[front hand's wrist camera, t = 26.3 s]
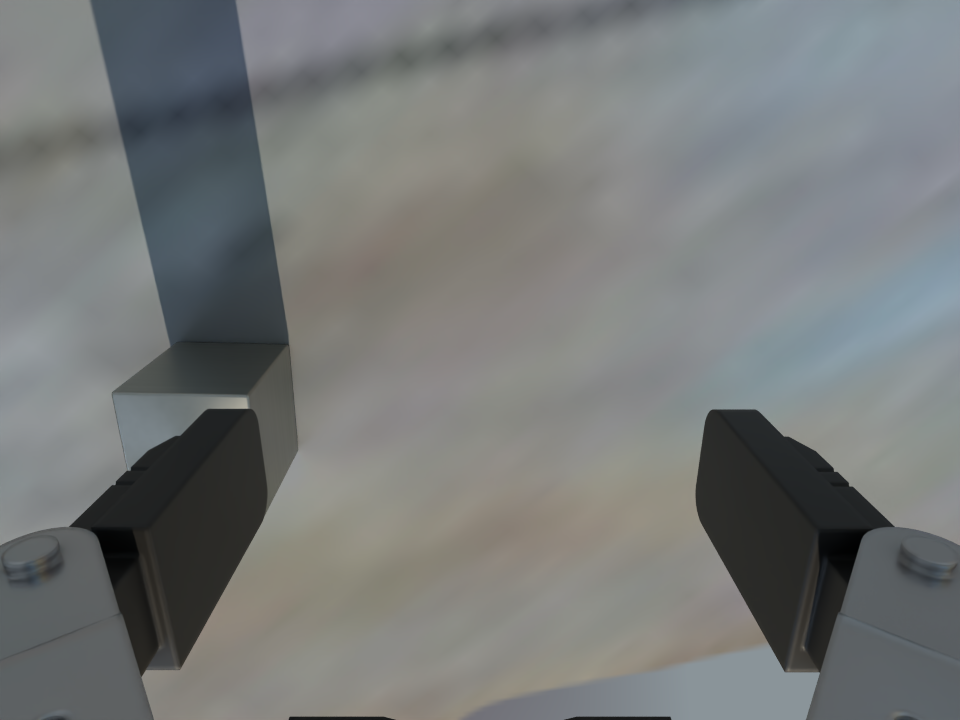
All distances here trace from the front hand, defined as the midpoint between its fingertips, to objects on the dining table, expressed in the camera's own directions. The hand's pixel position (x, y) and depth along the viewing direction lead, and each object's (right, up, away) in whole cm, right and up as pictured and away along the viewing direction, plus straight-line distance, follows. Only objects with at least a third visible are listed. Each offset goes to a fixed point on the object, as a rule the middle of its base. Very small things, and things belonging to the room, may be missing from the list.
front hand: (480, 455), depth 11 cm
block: (-10, 0, +14) cm, 17 cm away
